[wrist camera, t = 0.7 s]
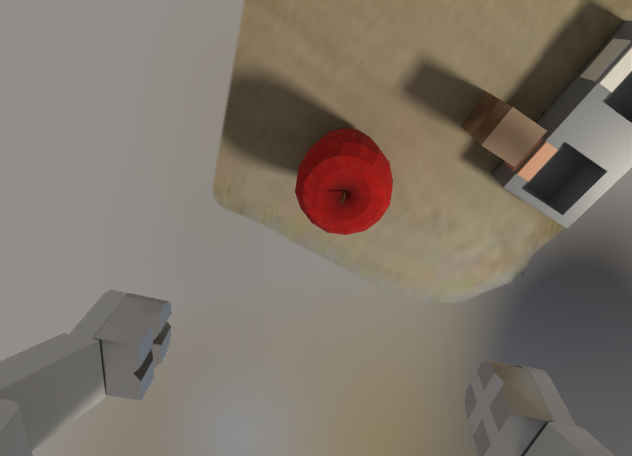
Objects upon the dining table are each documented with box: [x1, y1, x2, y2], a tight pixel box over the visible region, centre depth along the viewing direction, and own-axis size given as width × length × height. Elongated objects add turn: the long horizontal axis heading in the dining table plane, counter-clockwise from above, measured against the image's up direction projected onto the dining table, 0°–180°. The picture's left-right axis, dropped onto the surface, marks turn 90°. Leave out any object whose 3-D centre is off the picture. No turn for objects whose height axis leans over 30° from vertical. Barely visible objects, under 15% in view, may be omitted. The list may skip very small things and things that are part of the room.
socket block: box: [492, 21, 632, 228], centre depth 46 cm, size 20×10×5 cm, turn 149°
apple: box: [295, 128, 393, 235], centre depth 45 cm, size 11×10×14 cm
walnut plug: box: [462, 93, 547, 167], centre depth 45 cm, size 4×4×8 cm
